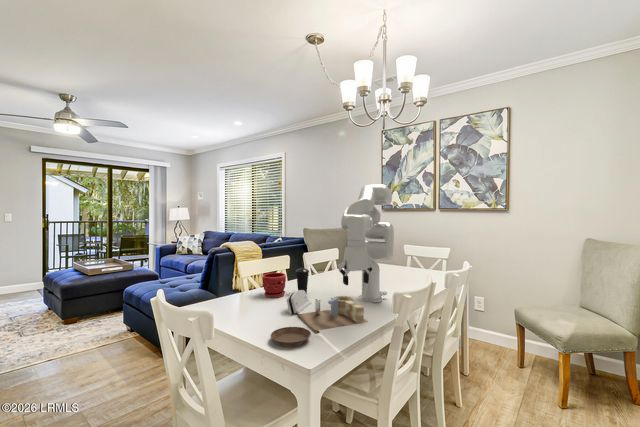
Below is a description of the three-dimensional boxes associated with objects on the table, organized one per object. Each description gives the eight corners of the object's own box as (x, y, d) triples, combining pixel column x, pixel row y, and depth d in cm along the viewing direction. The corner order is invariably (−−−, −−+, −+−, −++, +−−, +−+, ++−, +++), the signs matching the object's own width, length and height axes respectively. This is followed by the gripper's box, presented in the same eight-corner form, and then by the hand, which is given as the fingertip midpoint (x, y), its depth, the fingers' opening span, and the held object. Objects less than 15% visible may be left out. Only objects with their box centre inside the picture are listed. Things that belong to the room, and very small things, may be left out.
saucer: (263, 339, 116) (263, 332, 116) (296, 330, 125) (296, 323, 125) (284, 353, 105) (284, 345, 105) (318, 342, 114) (318, 335, 114)
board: (345, 309, 151) (345, 307, 151) (368, 324, 131) (368, 321, 131) (297, 316, 141) (297, 314, 141) (315, 333, 122) (315, 330, 122)
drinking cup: (299, 296, 173) (299, 260, 173) (293, 293, 180) (293, 258, 180) (311, 294, 177) (311, 259, 177) (305, 291, 184) (305, 258, 183)
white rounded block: (299, 315, 142) (292, 294, 143) (290, 317, 143) (284, 296, 144) (312, 305, 158) (306, 286, 159) (304, 307, 159) (298, 288, 160)
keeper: (335, 316, 141) (335, 297, 141) (340, 319, 137) (340, 300, 137) (325, 317, 139) (325, 299, 139) (329, 321, 135) (329, 301, 135)
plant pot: (273, 291, 184) (273, 271, 184) (290, 295, 176) (290, 274, 176) (257, 296, 173) (257, 275, 173) (274, 300, 166) (274, 278, 166)
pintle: (319, 316, 141) (319, 298, 141) (321, 317, 139) (321, 299, 139) (314, 316, 140) (314, 299, 140) (316, 318, 138) (316, 300, 138)
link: (330, 309, 147) (330, 297, 147) (347, 307, 151) (347, 295, 151) (351, 323, 129) (351, 309, 129) (369, 320, 133) (369, 306, 133)
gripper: (369, 242, 140) (368, 280, 140) (334, 243, 133) (334, 283, 133) (378, 244, 133) (378, 284, 133) (341, 245, 126) (341, 287, 126)
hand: (356, 283), depth 133 cm, fingers open, 9 cm apart
